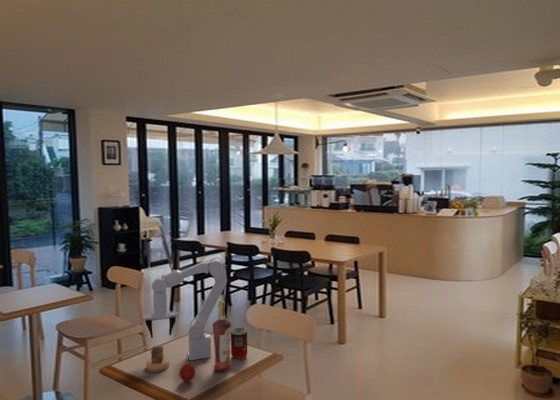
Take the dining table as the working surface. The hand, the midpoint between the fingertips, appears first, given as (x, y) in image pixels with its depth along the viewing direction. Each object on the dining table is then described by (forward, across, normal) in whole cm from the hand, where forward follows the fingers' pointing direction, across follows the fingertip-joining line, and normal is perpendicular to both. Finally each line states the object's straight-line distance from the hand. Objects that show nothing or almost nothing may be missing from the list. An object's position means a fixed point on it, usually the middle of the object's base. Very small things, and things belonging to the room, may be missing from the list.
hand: (161, 335), depth 176 cm
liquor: (+10, -23, +19) cm, 31 cm away
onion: (+10, -8, +25) cm, 28 cm away
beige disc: (+10, +2, +8) cm, 13 cm away
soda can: (+10, -32, +11) cm, 35 cm away
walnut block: (+7, +2, +8) cm, 11 cm away
